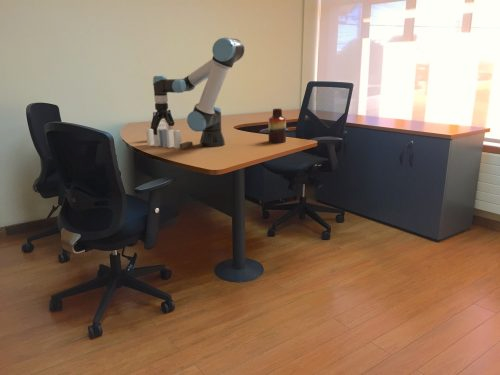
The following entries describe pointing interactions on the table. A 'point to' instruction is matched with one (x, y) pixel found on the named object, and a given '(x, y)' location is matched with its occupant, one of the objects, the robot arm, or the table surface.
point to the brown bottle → (277, 127)
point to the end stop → (186, 145)
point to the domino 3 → (163, 137)
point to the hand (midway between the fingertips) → (163, 138)
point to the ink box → (162, 125)
